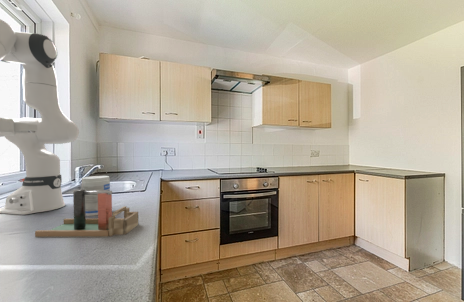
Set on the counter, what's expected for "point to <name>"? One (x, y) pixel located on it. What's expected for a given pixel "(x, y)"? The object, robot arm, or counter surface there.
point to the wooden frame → (122, 222)
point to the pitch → (69, 231)
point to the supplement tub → (94, 185)
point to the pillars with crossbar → (103, 208)
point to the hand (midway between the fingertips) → (36, 129)
